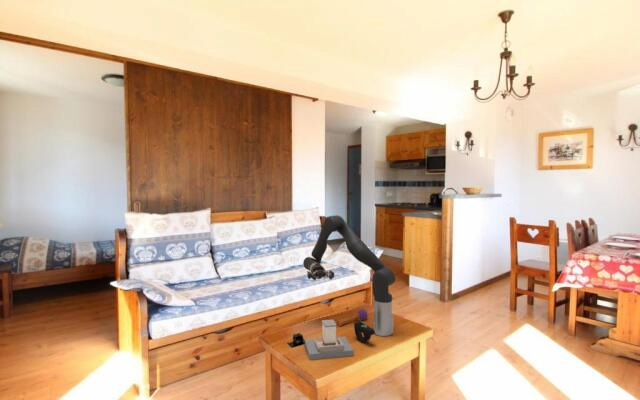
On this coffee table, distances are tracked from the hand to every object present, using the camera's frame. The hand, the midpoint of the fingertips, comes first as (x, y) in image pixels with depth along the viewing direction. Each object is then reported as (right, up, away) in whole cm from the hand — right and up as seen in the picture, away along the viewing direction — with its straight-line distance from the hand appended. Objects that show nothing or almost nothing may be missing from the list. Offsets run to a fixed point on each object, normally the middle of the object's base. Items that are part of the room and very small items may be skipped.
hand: (323, 278), depth 175 cm
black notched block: (-12, -29, -13) cm, 34 cm away
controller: (+20, -29, -11) cm, 37 cm away
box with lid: (+2, -26, -21) cm, 34 cm away
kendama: (+17, -28, +13) cm, 35 cm away
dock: (+2, -29, -20) cm, 35 cm away
